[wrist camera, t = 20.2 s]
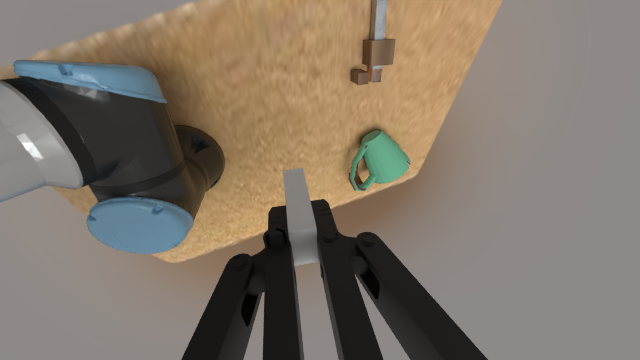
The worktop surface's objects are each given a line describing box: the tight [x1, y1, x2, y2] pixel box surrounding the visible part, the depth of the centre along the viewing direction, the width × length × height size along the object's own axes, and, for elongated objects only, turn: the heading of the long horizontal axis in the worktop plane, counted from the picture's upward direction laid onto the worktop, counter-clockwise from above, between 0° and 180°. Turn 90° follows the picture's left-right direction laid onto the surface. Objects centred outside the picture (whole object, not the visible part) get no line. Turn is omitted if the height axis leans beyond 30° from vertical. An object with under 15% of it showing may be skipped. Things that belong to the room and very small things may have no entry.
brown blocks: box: [349, 39, 395, 190], centre depth 51 cm, size 7×32×5 cm, turn 3°
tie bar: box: [368, 0, 387, 82], centre depth 40 cm, size 2×26×2 cm, turn 3°
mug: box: [350, 130, 411, 191], centre depth 53 cm, size 15×10×10 cm
